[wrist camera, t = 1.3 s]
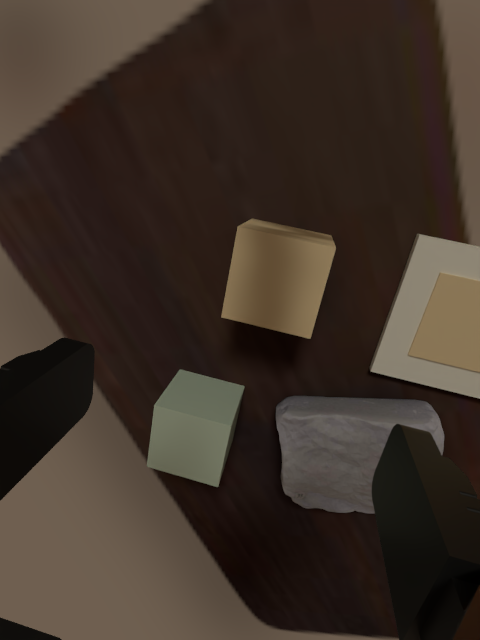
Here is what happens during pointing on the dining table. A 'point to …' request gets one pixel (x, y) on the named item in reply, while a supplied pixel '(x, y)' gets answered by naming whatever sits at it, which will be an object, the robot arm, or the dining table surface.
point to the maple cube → (277, 277)
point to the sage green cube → (194, 427)
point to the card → (435, 319)
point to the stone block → (342, 446)
